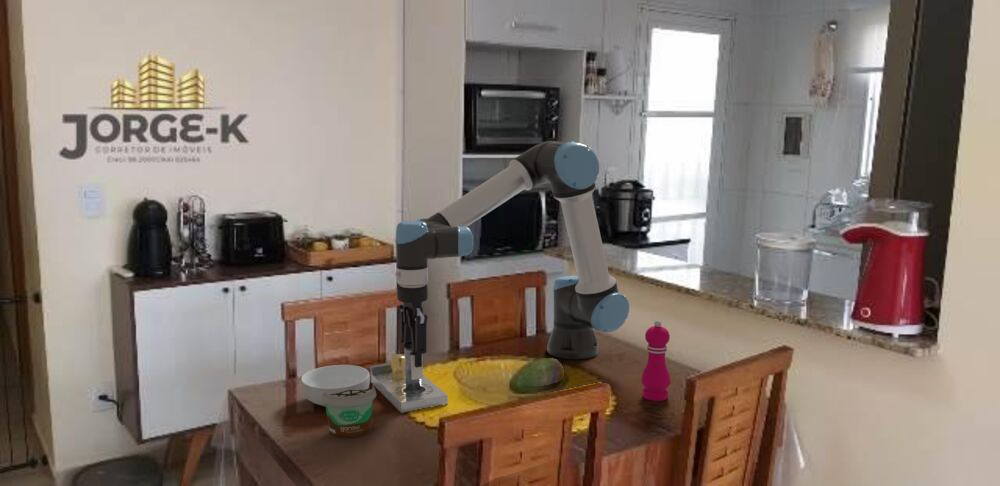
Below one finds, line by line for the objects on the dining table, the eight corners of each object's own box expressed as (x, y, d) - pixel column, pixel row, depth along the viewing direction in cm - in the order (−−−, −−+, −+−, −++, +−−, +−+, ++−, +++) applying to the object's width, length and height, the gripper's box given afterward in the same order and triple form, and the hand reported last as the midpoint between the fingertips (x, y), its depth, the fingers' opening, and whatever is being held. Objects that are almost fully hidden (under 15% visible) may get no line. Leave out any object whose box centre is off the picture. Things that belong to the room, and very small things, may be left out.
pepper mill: (651, 389, 207) (654, 315, 203) (675, 396, 202) (678, 320, 198) (635, 396, 202) (637, 320, 198) (659, 404, 197) (661, 326, 193)
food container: (328, 444, 174) (326, 400, 172) (322, 433, 179) (321, 391, 178) (383, 435, 179) (382, 392, 177) (376, 425, 184) (375, 383, 183)
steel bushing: (418, 384, 202) (417, 346, 201) (424, 389, 199) (423, 350, 197) (403, 386, 200) (402, 348, 199) (408, 391, 197) (408, 353, 195)
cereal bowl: (298, 395, 203) (297, 368, 202) (363, 387, 209) (362, 361, 208) (306, 419, 188) (305, 390, 187) (376, 410, 193) (375, 382, 192)
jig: (413, 375, 218) (412, 347, 216) (447, 404, 197) (447, 373, 195) (370, 382, 213) (369, 353, 211) (401, 412, 191) (400, 381, 190)
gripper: (386, 279, 201) (388, 368, 205) (410, 293, 186) (411, 388, 190) (414, 276, 204) (415, 363, 208) (439, 290, 189) (440, 384, 193)
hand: (413, 375), depth 199 cm, fingers closed on steel bushing, 4 cm apart
